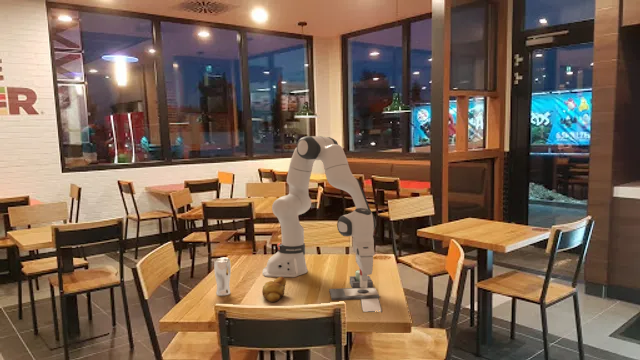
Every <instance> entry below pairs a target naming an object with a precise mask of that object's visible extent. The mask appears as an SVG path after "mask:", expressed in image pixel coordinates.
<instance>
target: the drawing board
mask: <svg viewBox="0 0 640 360" xmlns="http://www.w3.org/2000/svg"><path fill="white" fill-rule="evenodd" d="M328 291H329V295H330V299H331V301H343V300H344V301H347V300H348V301H350V300H361V299H376V298H377V299H378V298H379V299H380V297H381V296H380V294H379V292H378V291H377V289H376V287H374V286H373V287H367V288H352V287H346V288H345V287H344V288H329V290H328Z"/></svg>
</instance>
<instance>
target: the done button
mask: <svg viewBox="0 0 640 360" xmlns="http://www.w3.org/2000/svg"><path fill="white" fill-rule="evenodd" d="M354 276H355V280H356V281H357V282H358V281H360V269H357V270H356V271H355V275H354Z"/></svg>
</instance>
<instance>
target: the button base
mask: <svg viewBox="0 0 640 360" xmlns="http://www.w3.org/2000/svg"><path fill="white" fill-rule="evenodd" d="M349 284H350V286H351V287H350V288H360V281H358V282H357V281H356V280H355V275H353V276H352V275H351V276H349ZM367 287H374V282H373V280H372V278H371V276H370V275H367Z"/></svg>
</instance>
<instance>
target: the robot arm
mask: <svg viewBox="0 0 640 360" xmlns="http://www.w3.org/2000/svg"><path fill="white" fill-rule="evenodd" d="M315 161H321V162H322V164H323V168H324V169H323V170H324V173H325V178H326V181H327V182H328V184H329V185H330V186H332V188H333V187H334V188H335V189H338V190H342V191H344V192H346V193H348V194H349V196H351V198H352V201H353V203H354V207H355V209H353V211H351V212H349V213H348V214H347V213H346V214H343V215H340V216H339V217H338V219H337V223H336V226H337V227H336V229H337V230H338V233H339V234H340V235H341V236H343V237H352V252H354V253H355V263H356V265H357V267H359V270H361V271H362V280H363V281H367V276H371V275H372V274H373V267H374V256H375V255H376V254H375V245H374V243H375V240H374V239H375V238H374V231H375V228H376V226H377V220H376V218H375V215H374V214H373V212H372V210H371V208H370V205H369V203H368V199H367V198H366V195H365V192H364V190H363V187H362V186H361V183H360V181H359V179H357V178H356V177H355V176H354V175H353V172H352V170H351V168H350V166H349V161H348V158H347V156H346V153H345V151H344V149H343V147H342V146H341V145H340V144H339V142H338V141H337V140H336V139H334V138H333V137H330V136H329V137H328V136H322V135H317V136H316V135H314V136H313V135H311V136H310V135H306V136H303V137H300V138H299V139H298V141H297V143H296V147H295V148H294V150H293V153H292V156H291V158H290V162H289V167H288V171H287V176H286V183H287V185H288V194H286V195H282V196H280V197H279V198H277V199H275V200H274V201H273V203H272V205H271V210H272V213H273V215H274V216H275V217H276V218H277V220H278V222H279V225H280V229H281V230H280V231H281V243H280V242H278V243H277V245H276V247H277V252H276V253H275V252H274V254H273V255H271V257H268V260H267V263H266V266H265V267H264V268H263V269H262V276H264V277H268V278H269V277H270V278H271V277H274V278H275V277H277V278H278V277H284V278H296V277H298V276H301V275H305V274H307V273H308V272H309V271H308V267H307V263H306V256H305V255H306V244H305V229H304V227H303V225H301V222H300V218H299V216H300V215H302V214H303V215H304V214H305V213H306V212H308V211H309V210H310V208H311V206H312V200H311V197H310V195H309V187H310V186H309V185H310V180H311V176H312V170H313V167H314V163H315Z"/></svg>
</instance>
